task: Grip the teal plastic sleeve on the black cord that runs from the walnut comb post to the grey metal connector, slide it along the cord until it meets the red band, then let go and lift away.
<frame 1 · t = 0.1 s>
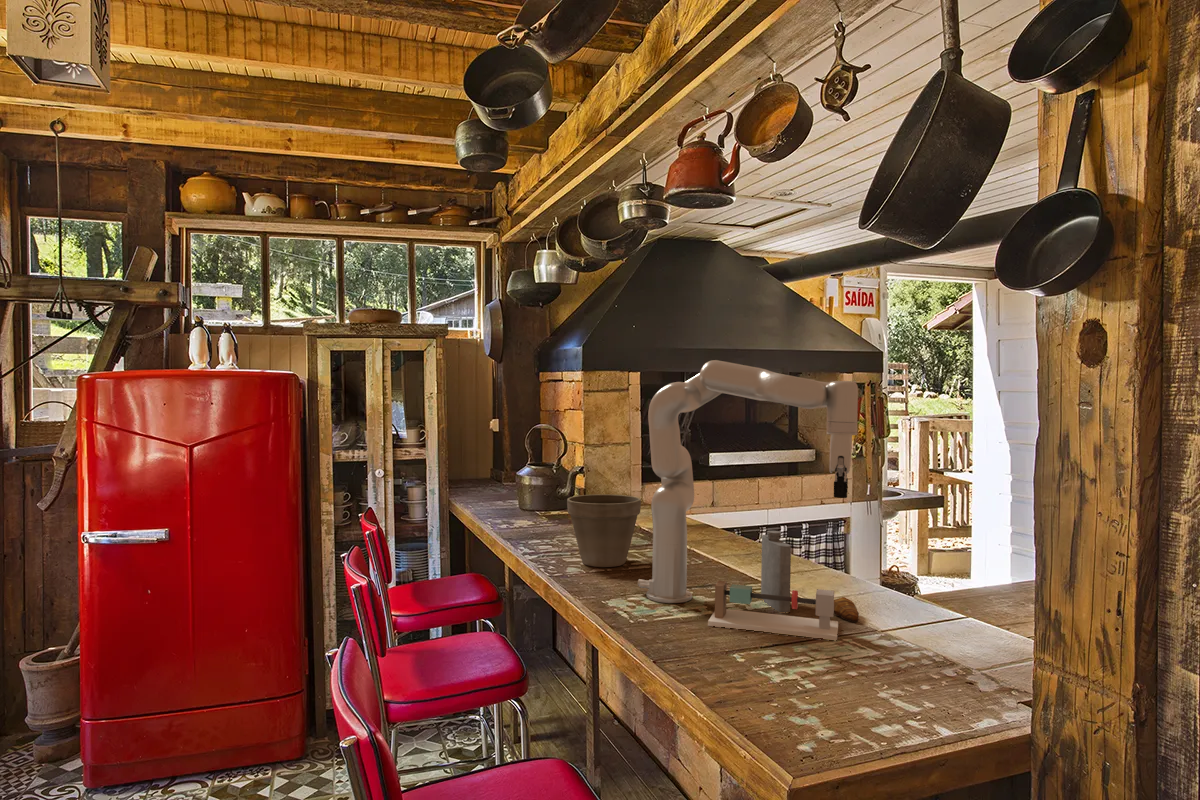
hand: (840, 495, 187), 31 cm above the table, tool pointing down, fingers open, 9 cm apart
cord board: (773, 626, 178), on the table
plant pot: (603, 563, 244), on the table
sleeve: (740, 594, 181), point 7 cm above the table, slide at 0.0 cm
hip flask: (773, 605, 197), on the table
croissant: (843, 616, 188), on the table
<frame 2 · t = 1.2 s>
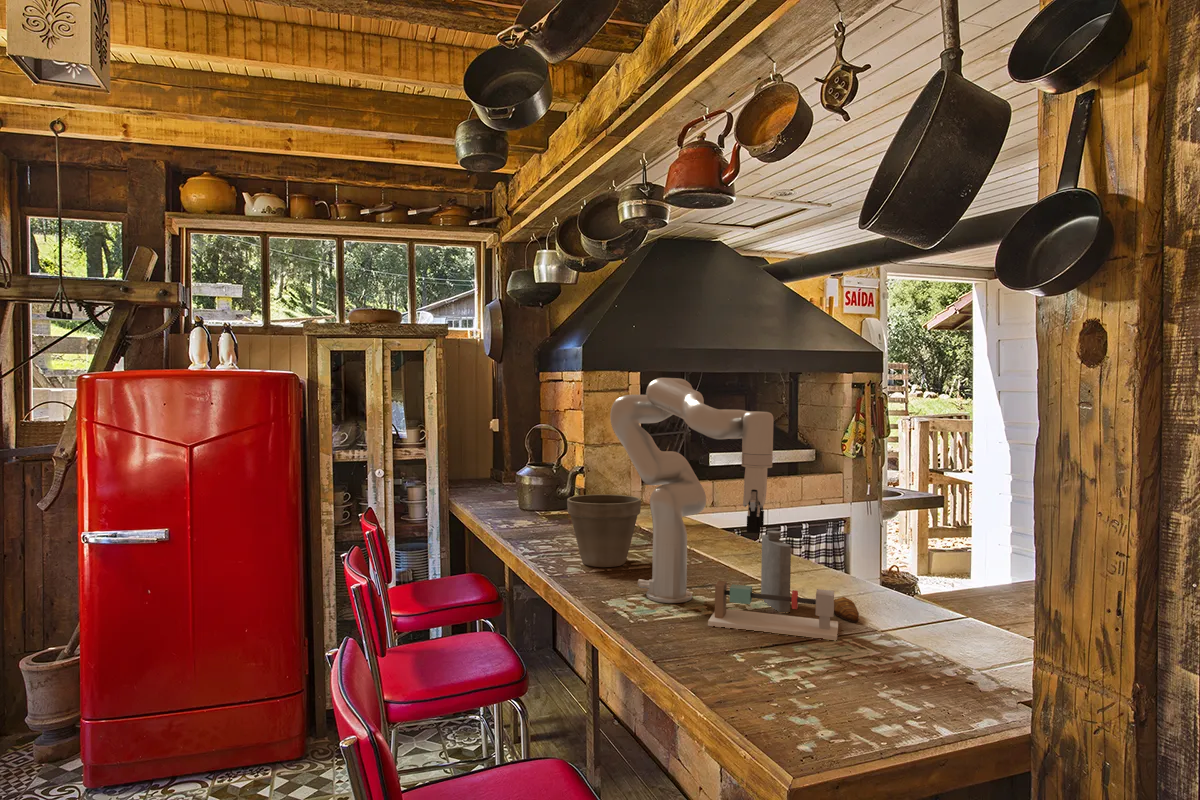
hand: (755, 529, 182), 23 cm above the table, tool pointing down, fingers open, 9 cm apart
nothing on the table moved.
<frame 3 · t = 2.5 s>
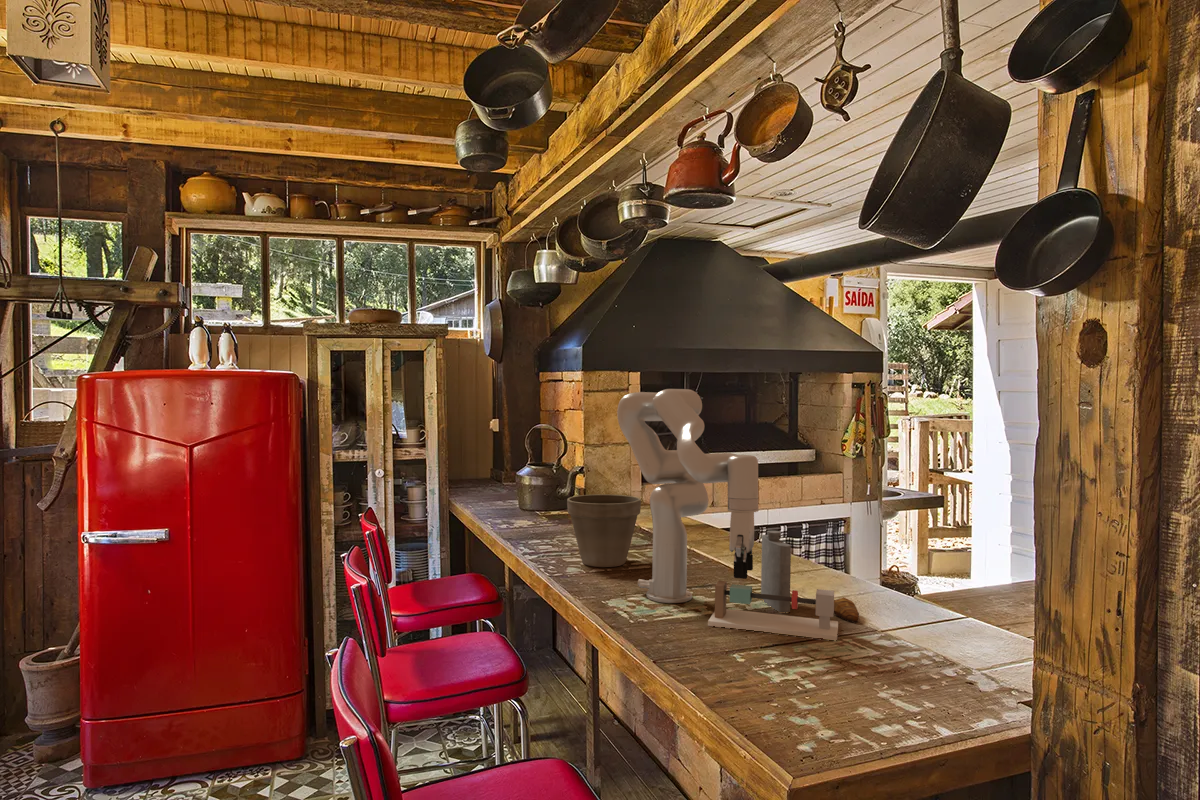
hand: (743, 574, 180), 12 cm above the table, tool pointing down, fingers open, 9 cm apart
nothing on the table moved.
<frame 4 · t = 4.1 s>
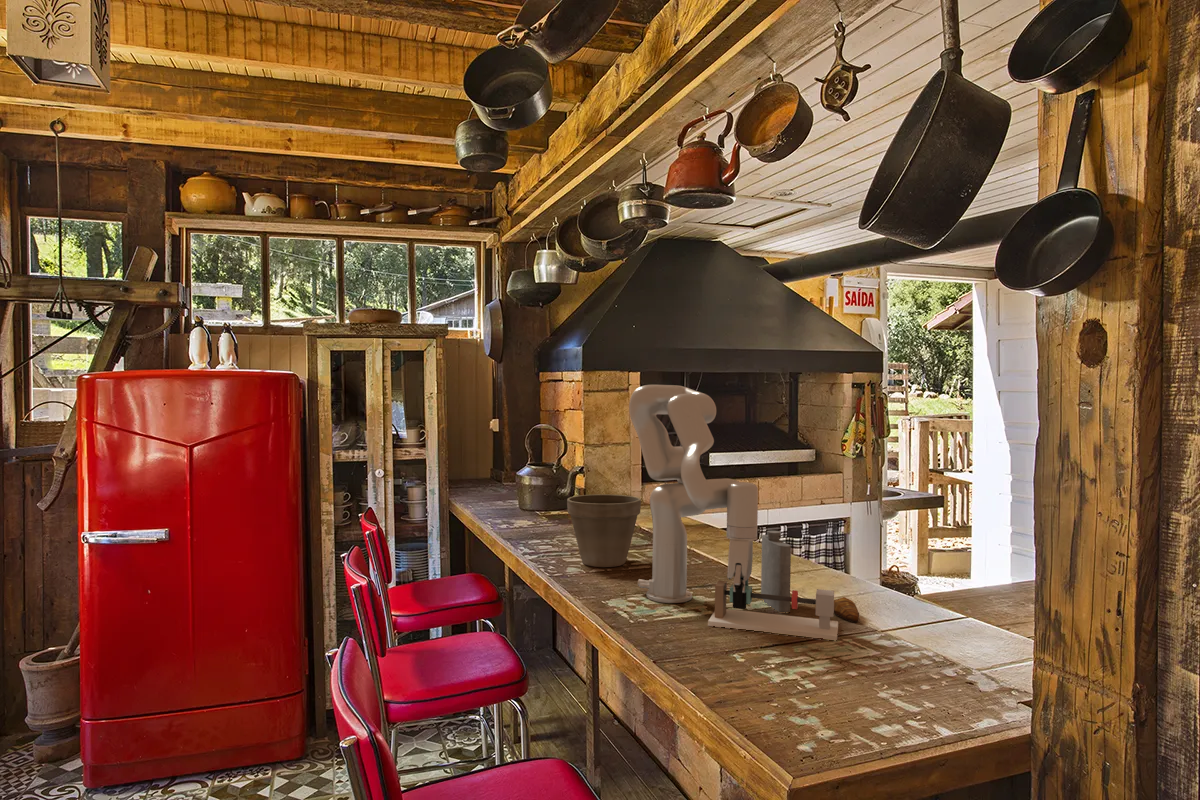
hand: (740, 605, 181), 4 cm above the table, tool pointing down, fingers closed on sleeve, 3 cm apart
sleeve: (740, 594, 181), point 7 cm above the table, slide at 0.0 cm, touching gripper
everything else where it was.
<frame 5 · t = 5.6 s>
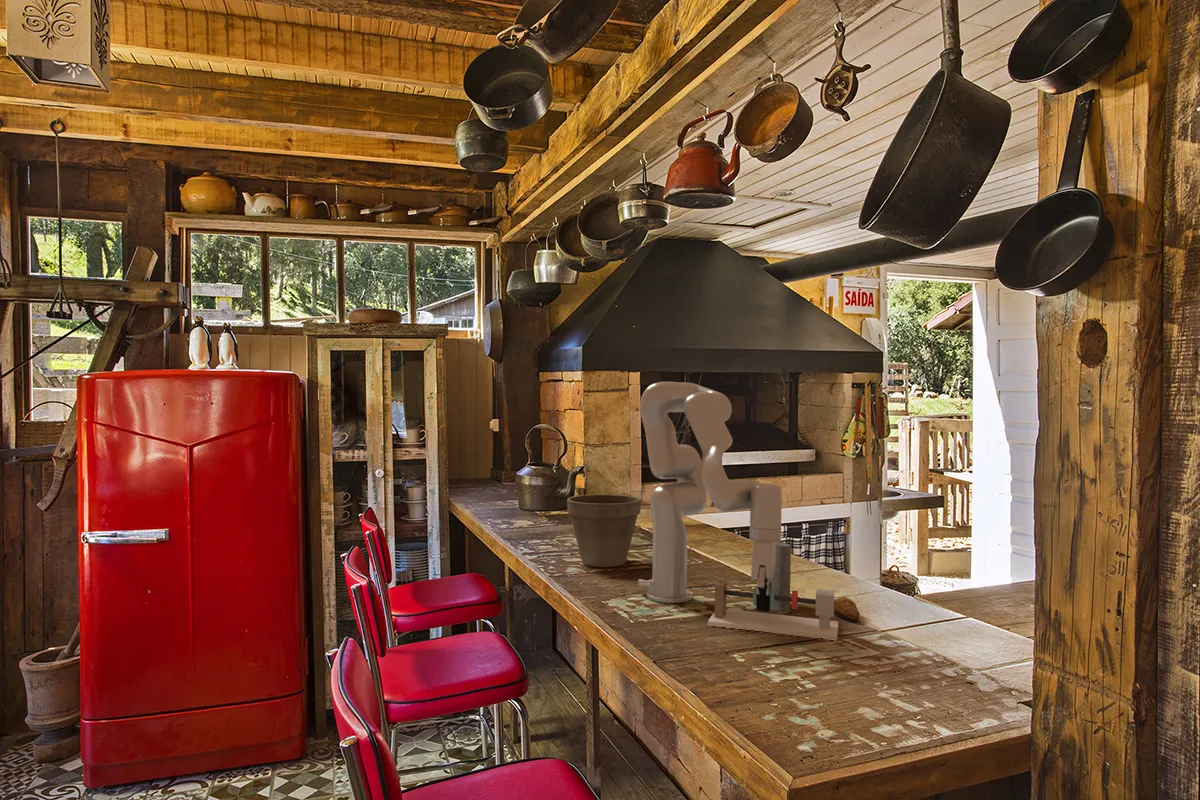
hand: (764, 607, 179), 4 cm above the table, tool pointing down, fingers closed on sleeve, 3 cm apart
sleeve: (764, 596, 179), point 7 cm above the table, slide at 5.7 cm, touching gripper
everything else where it was.
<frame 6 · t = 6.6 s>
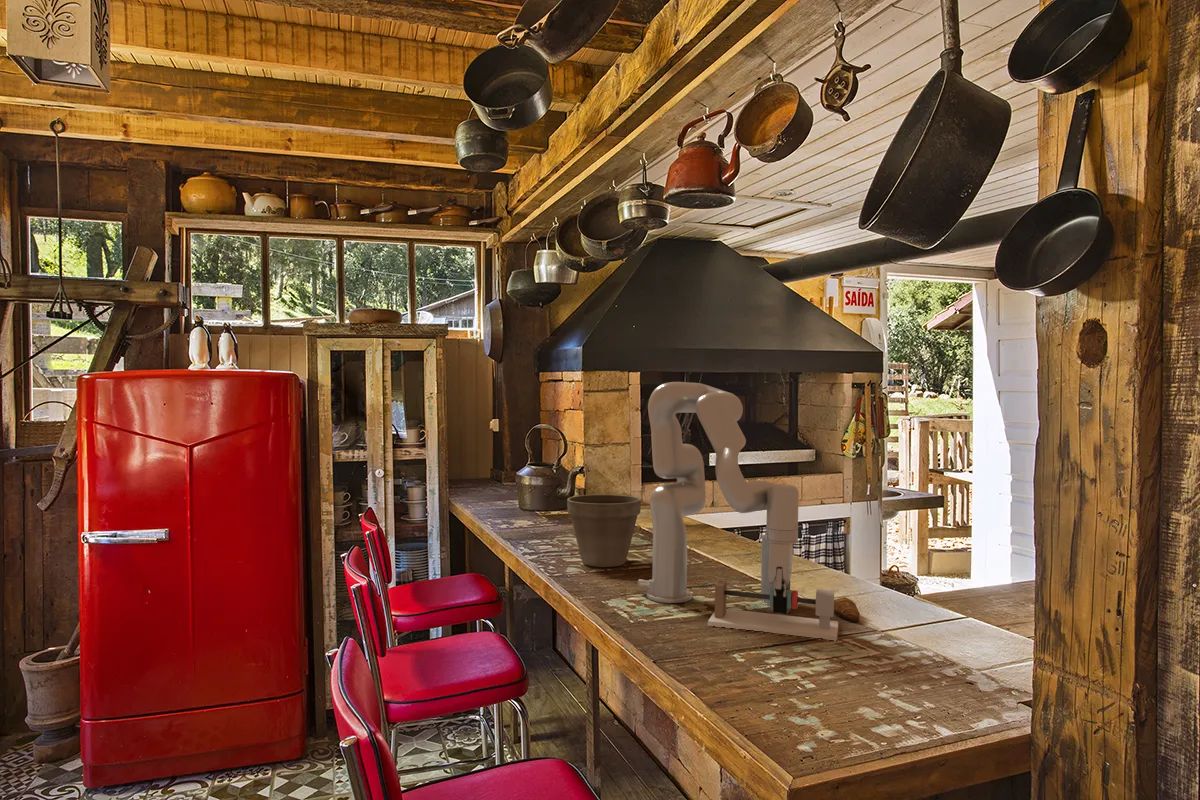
hand: (780, 609, 178), 4 cm above the table, tool pointing down, fingers closed on sleeve, 3 cm apart
sleeve: (780, 598, 178), point 7 cm above the table, slide at 9.7 cm, touching gripper
everything else where it was.
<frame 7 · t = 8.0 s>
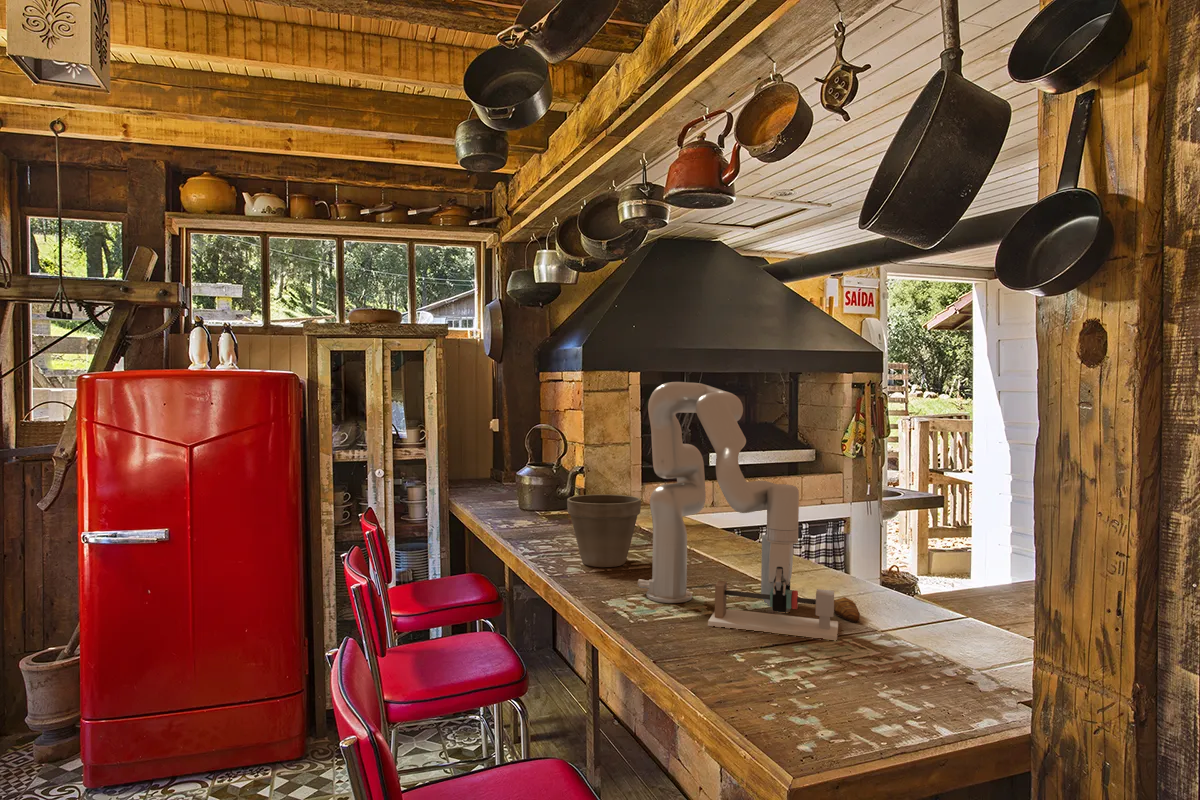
hand: (781, 605, 178), 5 cm above the table, tool pointing down, fingers open, 8 cm apart
sleeve: (781, 598, 178), point 7 cm above the table, slide at 9.8 cm
everything else where it was.
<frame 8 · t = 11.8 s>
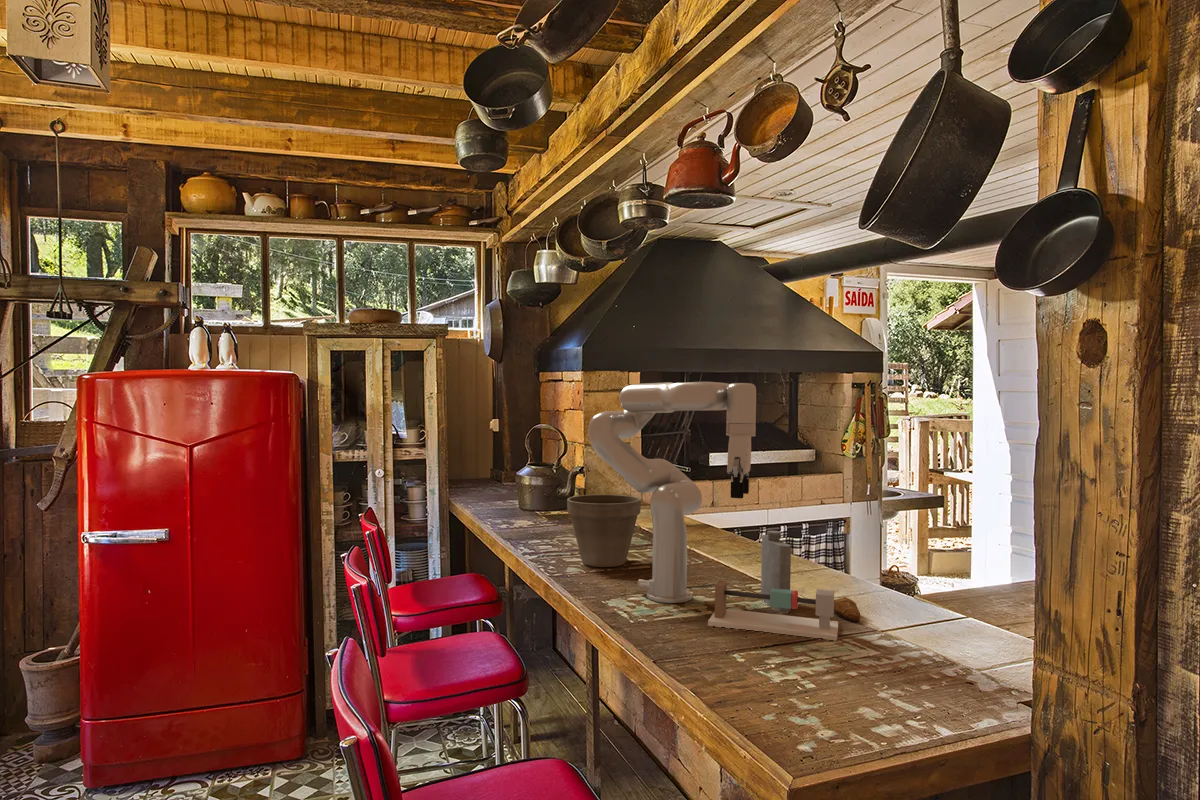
hand: (739, 495, 190), 30 cm above the table, tool pointing down, fingers open, 9 cm apart
nothing on the table moved.
at the end: sleeve slide at 9.8 cm; the gripper is holding nothing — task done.
